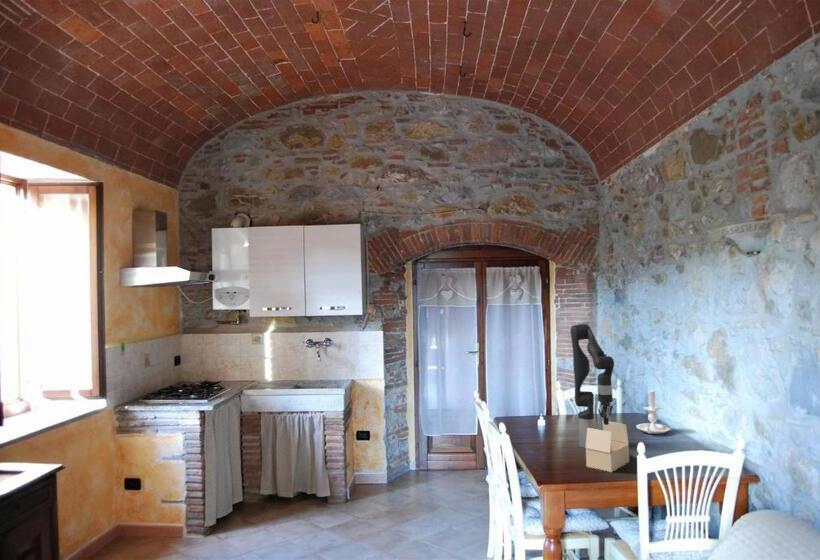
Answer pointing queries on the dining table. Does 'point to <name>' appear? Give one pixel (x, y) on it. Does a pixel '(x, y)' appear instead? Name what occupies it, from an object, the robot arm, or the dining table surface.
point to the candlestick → (652, 418)
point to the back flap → (617, 431)
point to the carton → (608, 457)
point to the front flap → (598, 440)
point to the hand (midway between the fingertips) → (606, 424)
